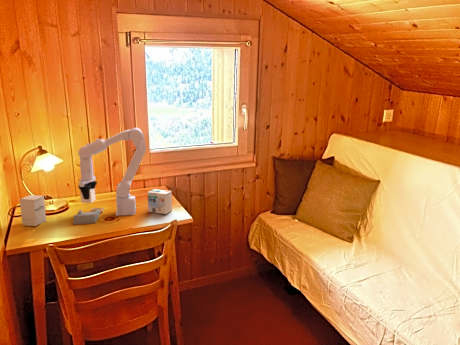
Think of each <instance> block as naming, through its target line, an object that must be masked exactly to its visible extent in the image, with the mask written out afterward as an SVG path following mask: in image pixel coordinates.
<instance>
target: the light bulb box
mask: <svg viewBox="0 0 460 345" xmlns="http://www.w3.org/2000/svg"><path fill="white" fill-rule="evenodd" d="M172 192H173V191H172V190H167V189H166V190H165V189H157V188H153V189H151V190H149V191H148V192H147V208H148V209H147V210H148V213H149V212H150V213H154V214H155V213H157V214H163V215H167V214H169V213H170V212H172V211H173V203H172V202H173V200H172V199H173V198H172V197H173V196H172V194H173V193H172Z"/></svg>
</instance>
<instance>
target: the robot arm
mask: <svg viewBox="0 0 460 345" xmlns="http://www.w3.org/2000/svg"><path fill="white" fill-rule="evenodd" d="M121 141H131V142H132V143H133V144H134V147H135V150H134V151H135V152H134V154H133V156H132V158H131V160H130V162H129V164H128V167H127V168H126V171H125V174H124V176H123V177H122V179H121V181H120V182H119V183H118V184H117V185H116V190H115V193H116V195H115V201H116V202H115V204H116V212H115V217H116V216H134V215H136V212H137V207H136V205H137V204H136V196H135V195H132V194H131V193H130V188H131V186H132V183H133V180H134V178H135V176H136V175H137V174H136V173H137V171H138V169H139V167H140V165H141V163H142V160H143V157H144V156H145V154H146V152H147V144H146V139H145V134H144V132H143V130H141V128H139V127H133V128H130V129H125V130H123V131H121V132H119V133H116V134H115V135H113V136H111V137H109V138H106V139H103V138H96V139H95V140H94V141H93V142H91V143H90V142H89V143H86V145H83V146H81V147H80V148H79V149H78V153H77V154H78V156H79V167H80V179H78V181H79V183H78V185H77V186H78V190H80V191H81V192H82V195H83V197H84V199H89V191H90V189H95V188H96V187H97V184H98V181H96V180H97V179H96V176H95V175H94V165H93V156H94V155H97V154H99V153H101V152H104V151H106V150H107V149H108V147H109V146H111V145H114V144H115V143H118V142H121ZM95 190H96V189H95Z"/></svg>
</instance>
